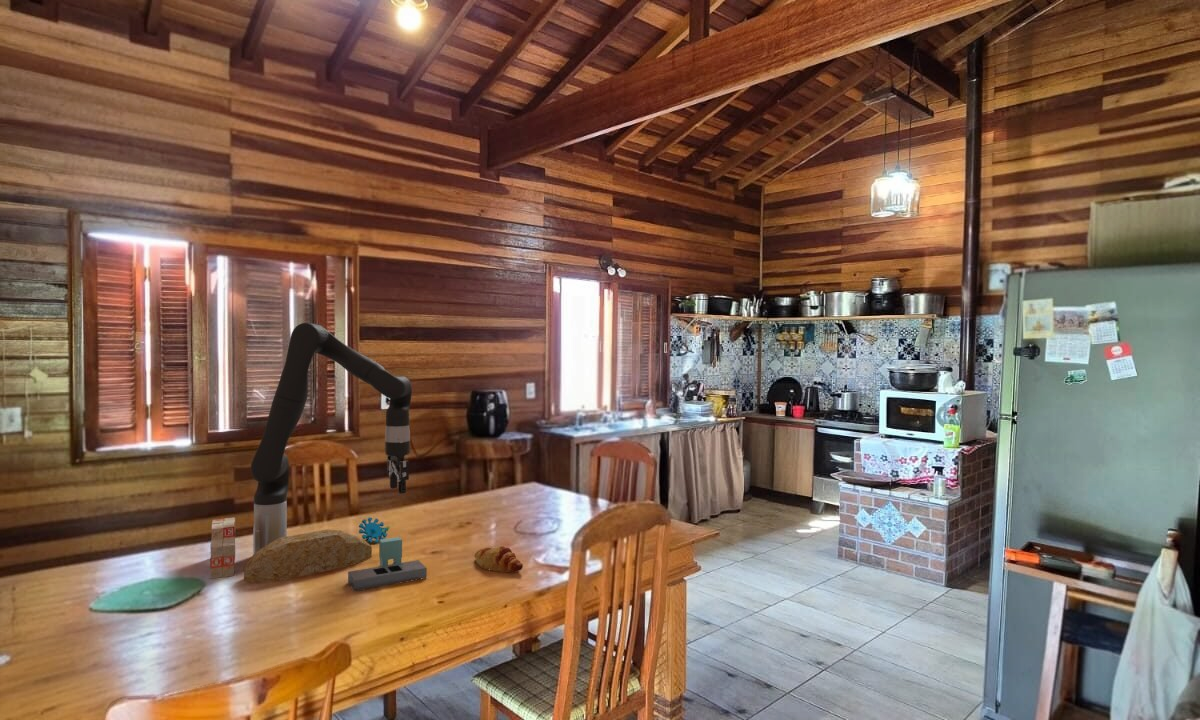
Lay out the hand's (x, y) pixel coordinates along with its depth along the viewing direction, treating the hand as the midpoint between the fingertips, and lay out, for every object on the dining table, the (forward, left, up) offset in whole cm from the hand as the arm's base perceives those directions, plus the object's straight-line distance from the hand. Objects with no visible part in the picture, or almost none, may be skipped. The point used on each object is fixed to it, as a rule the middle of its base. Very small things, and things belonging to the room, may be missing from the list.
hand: (397, 490), depth 211 cm
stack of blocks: (-47, +17, -21) cm, 55 cm away
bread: (-25, +3, -22) cm, 33 cm away
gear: (-2, +21, -21) cm, 30 cm away
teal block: (-4, -8, -21) cm, 23 cm away
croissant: (+24, -25, -21) cm, 40 cm away
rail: (-8, -20, -21) cm, 30 cm away
